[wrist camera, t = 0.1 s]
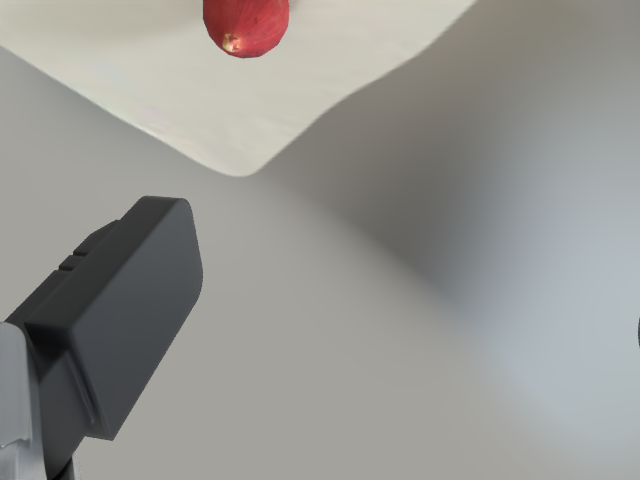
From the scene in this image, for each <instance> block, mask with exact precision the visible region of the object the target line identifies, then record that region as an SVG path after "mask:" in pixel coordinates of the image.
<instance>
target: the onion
mask: <svg viewBox="0 0 640 480" xmlns="http://www.w3.org/2000/svg"><path fill="white" fill-rule="evenodd" d="M203 20H204V23H205V26H206V28H207V31H208V33H209V36H210V37H211V39H212V40H213V41H214V42H215V43H216V45H217V46H218V47H219V48H220V49H222V50H223V51H225V52H226V53H227V54H229V55H232V56H235V57H239V58H253V57H260V56H262V55H263V54H265V53H266V52H268V51H270V50H271V49H273V48H274V47H275V46H277V45H278V43H279V42H280V40H281V38H282V37H283V35H284V33H285V31H286V29H287V27H288V20H289V2H288V0H203Z"/></svg>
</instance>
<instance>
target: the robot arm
mask: <svg viewBox="0 0 640 480" xmlns="http://www.w3.org/2000/svg"><path fill="white" fill-rule="evenodd" d="M202 279H203V269H202V263H201V258H200V252H199V246H198V241H197V236H196V230H195V225H194V220H193V214H192V210H191V207H190V204H189V202H188V201H187V200H186V199H183V198H171V197H157V196H144V197H142V198H140V199H139V200H138V201H137V203H136V204H135V205H134V206H133V207H132V208H131V209H130V210H129V211H128V212H127V213H126V214H125V215H124V216H123V217H122V218H121V219H120V220H115V221H113V222H111V223H109V224H107V225H106V226H104V227H102V228H100V229H99V230H97V231H95V232H94V233H92V234H90V235H89V236H88V237H87V238H86V239H85V240H84V241H83V242H82V243H81V244H80V245H79V246H78V247H77V248H76V249H75V250H74V251H73V255H69V256H68V257H67V258H66V259H65V260H64V261H63V262H62V263H61V264H60V265H59V269H58V270H54V271H53V272H52V273H51V274H50V276H48V278H47V279H46V280H45V281H44V282H43V283H42V284H41V285H40V286H39V287H38V288H37V289H36V290H35V291H34V292H33V293H32V294H31V295H30V296H29V297H28V298H27V299H26V300H25V301H24V302H23V303H22V304H21V305H20V306H19V307H18V308H17V309H16V310H15V311H14V312H13V313H12V314H11V315H10V316H9V317H8V318H7V319H6V320H5V321H4V322H0V480H81V475H80V467H79V461H78V458H77V455H76V453H75V450H76V449H77V447H78V446H79V444H80V442H81V441H82V439H83V438H84V436H87V437H93V438H99V439H105V440H111V441H112V440H113V439H114V438H115V436H116V435H117V433H118V431H119V430H120V428H121V426H122V425H123V423H124V421H125V420H126V418H127V416H128V415H129V413H130V411H131V410H132V408H133V406H134V405H135V403H136V401H137V400H138V398H139V396H140V394H141V393H142V391H143V390H144V388H145V386H146V384H147V383H148V381H149V380H150V378H151V376H152V375H153V373H154V371H155V370H156V368H157V366H158V365H159V363H160V361H161V360H162V358H163V356H164V355H165V353H166V351H167V350H168V348H169V346H170V345H171V343H172V341H173V340H174V338H175V336H176V334H177V333H178V331H179V330H180V328H181V326H182V325H183V323H184V321H185V320H186V318H187V316H188V315H189V313H190V312H191V310H192V308H193V307H194V305H195V303H196V302H197V300H198V297H199V295H200V292H201V287H202V281H203V280H202ZM638 339H639V346H640V319H639V327H638Z"/></svg>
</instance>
